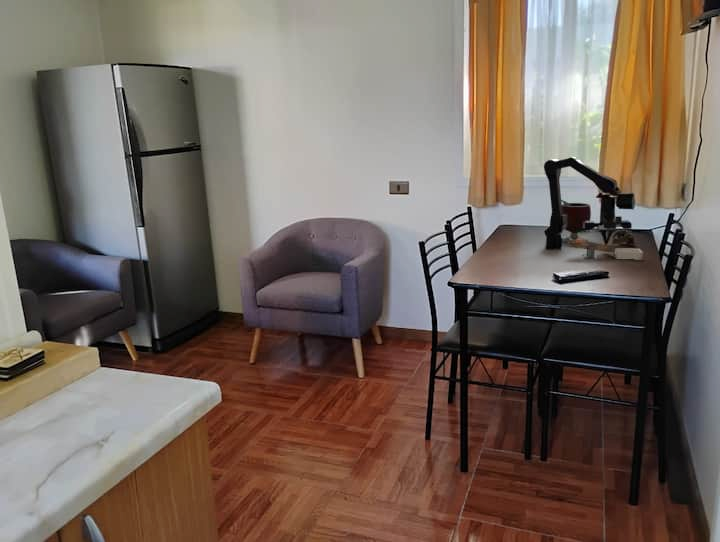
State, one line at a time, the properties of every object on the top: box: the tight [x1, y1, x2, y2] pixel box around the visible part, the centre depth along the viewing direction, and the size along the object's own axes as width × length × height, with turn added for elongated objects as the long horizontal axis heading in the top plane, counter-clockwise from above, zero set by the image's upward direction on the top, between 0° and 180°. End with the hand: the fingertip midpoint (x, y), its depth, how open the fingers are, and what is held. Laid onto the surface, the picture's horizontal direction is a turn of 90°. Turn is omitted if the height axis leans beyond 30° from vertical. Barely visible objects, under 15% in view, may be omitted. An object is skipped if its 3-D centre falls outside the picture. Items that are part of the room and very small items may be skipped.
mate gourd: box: [561, 199, 592, 243], centre depth 288 cm, size 16×14×20 cm
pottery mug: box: [611, 229, 636, 247], centre depth 275 cm, size 12×10×8 cm
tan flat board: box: [567, 238, 616, 254], centre depth 257 cm, size 18×14×3 cm
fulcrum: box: [582, 247, 600, 260], centre depth 253 cm, size 5×8×5 cm, turn 169°
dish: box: [612, 247, 644, 261], centre depth 250 cm, size 10×7×3 cm
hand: (605, 244), depth 261 cm, fingers closed, pressing on tan flat board
